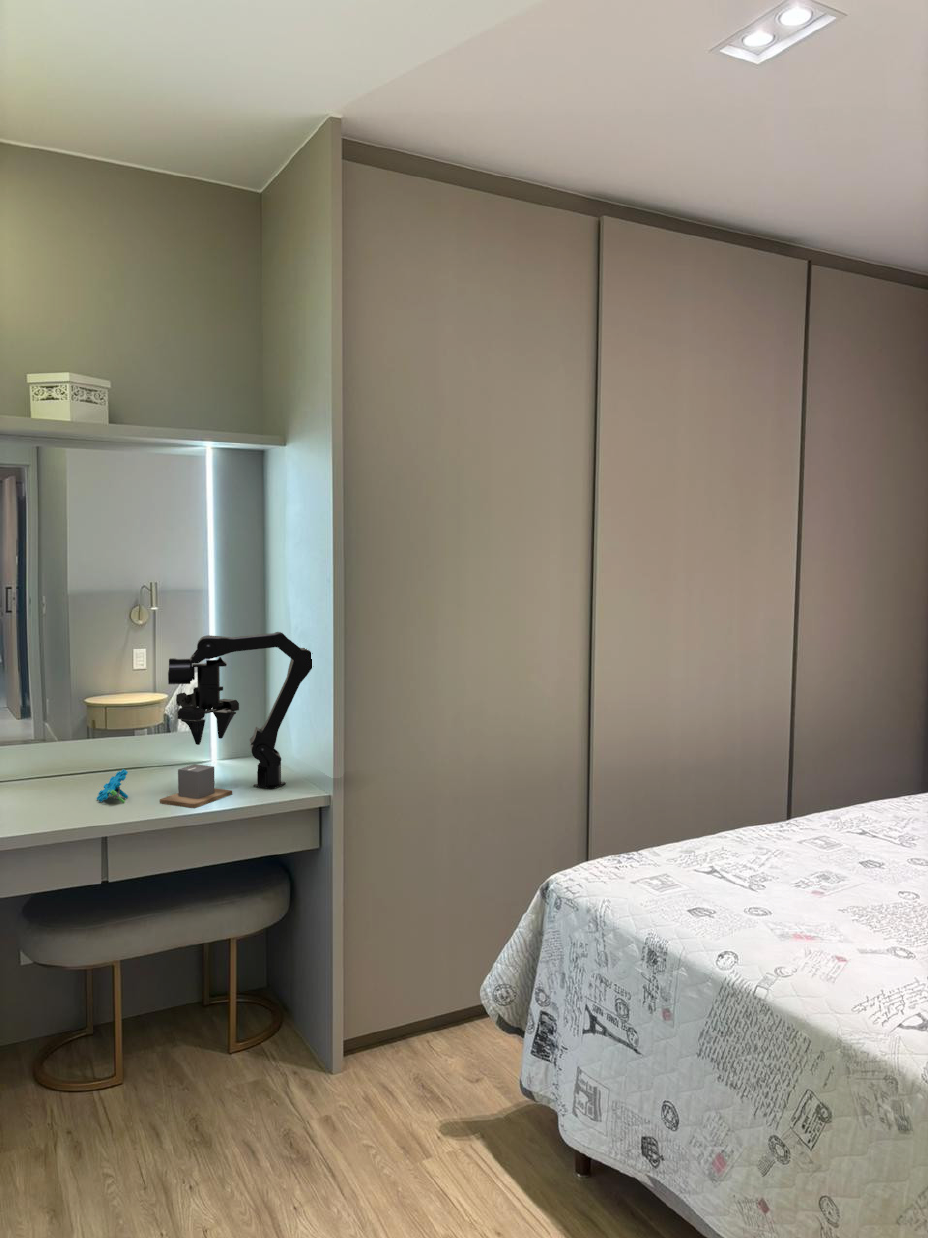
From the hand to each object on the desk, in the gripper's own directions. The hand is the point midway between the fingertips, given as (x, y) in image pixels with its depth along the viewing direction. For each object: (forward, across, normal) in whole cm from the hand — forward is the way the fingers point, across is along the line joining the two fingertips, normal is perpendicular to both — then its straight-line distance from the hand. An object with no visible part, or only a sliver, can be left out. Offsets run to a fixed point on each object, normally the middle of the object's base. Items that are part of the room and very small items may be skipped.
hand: (209, 741), depth 256 cm
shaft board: (+13, +9, +3) cm, 16 cm away
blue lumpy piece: (+13, +19, -15) cm, 28 cm away
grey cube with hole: (+12, +9, +3) cm, 15 cm away
